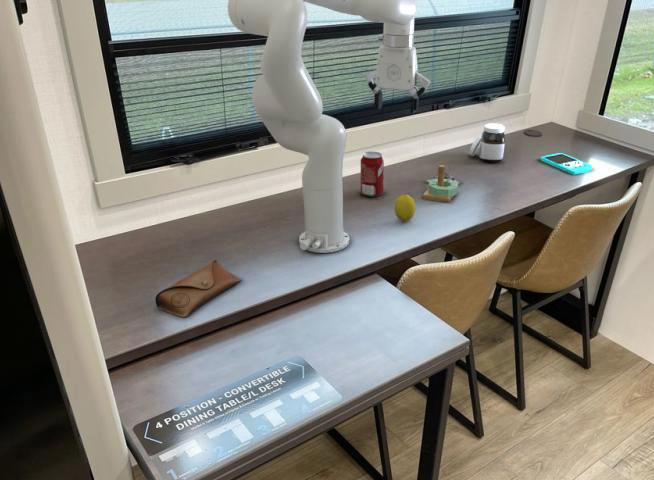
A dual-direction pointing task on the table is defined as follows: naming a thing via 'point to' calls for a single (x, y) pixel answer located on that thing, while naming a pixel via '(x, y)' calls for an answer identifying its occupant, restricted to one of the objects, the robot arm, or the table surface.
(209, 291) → the sunglasses case
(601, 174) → the table surface
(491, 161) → the spread jar
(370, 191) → the soda can
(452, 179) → the donut
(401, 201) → the lemon
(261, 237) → the table surface
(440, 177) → the post
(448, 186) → the ring
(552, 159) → the handheld game console
